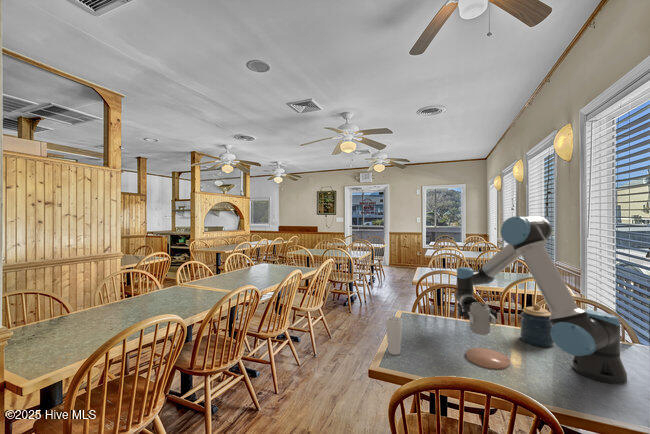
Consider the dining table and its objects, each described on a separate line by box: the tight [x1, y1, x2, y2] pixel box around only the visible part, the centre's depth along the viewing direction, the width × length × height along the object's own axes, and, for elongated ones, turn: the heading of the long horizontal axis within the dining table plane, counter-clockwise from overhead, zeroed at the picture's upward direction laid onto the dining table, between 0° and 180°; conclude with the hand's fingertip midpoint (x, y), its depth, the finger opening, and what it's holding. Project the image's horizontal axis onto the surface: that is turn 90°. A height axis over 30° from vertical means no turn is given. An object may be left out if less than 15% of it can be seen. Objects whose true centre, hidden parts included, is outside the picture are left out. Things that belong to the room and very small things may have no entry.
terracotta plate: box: [465, 347, 511, 370], centre depth 122 cm, size 16×16×1 cm
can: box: [469, 301, 491, 336], centre depth 123 cm, size 8×8×12 cm
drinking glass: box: [385, 315, 403, 356], centre depth 129 cm, size 7×7×15 cm
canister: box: [519, 303, 555, 348], centre depth 138 cm, size 13×13×18 cm
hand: (483, 320), depth 118 cm, fingers closed on can, 7 cm apart
